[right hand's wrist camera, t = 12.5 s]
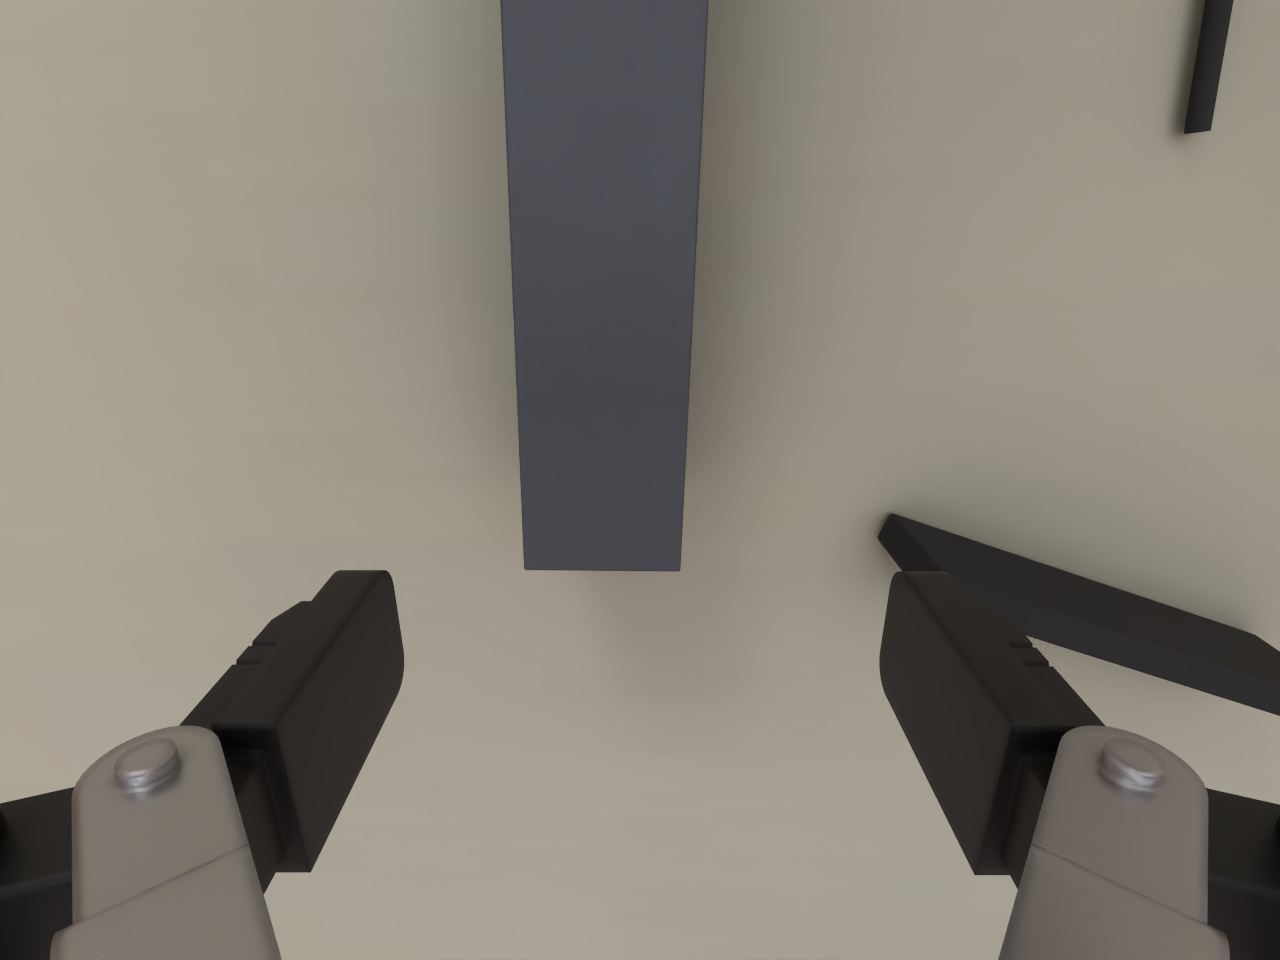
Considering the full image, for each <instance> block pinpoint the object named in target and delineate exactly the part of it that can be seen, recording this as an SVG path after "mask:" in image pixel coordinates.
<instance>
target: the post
mask: <svg viewBox="0 0 1280 960" xmlns="http://www.w3.org/2000/svg"><path fill="white" fill-rule="evenodd" d="M500 2H501V26H502V50H503V74H504V98H505V122H506V145H507V169H508V193H509V217H510V241H511V265H512V288H513V312H514V336H515V360H516V384H517V408H518V431H519V455H520V479H521V503H522V527H523V551H524V568H525V570H592V571H680V565H681V545H682V524H683V504H684V484H685V464H686V443H687V423H688V403H689V383H690V362H691V342H692V322H693V302H694V281H695V261H696V241H697V220H698V200H699V180H700V160H701V139H702V119H703V99H704V79H705V58H706V38H707V18H708V0H500Z"/></svg>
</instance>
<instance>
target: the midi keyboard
mask: <svg viewBox="0 0 1280 960" xmlns="http://www.w3.org/2000/svg"><path fill="white" fill-rule="evenodd" d="M878 540H879V541H880V542H881V544H882V545H883V546H884V548H885V549H886V550H887V552H888V553H889V554H890V555H891V557H892V558H893V559H894V561H895V562H896V563H897V565H898V566H899V567H900V569H901V570H902V571H944V572H947V573H949V574H950V575H951V576H952V577H953V578H954V580H955V581H956V582H957V583H958V585H959V586H960V587H961V588H962V589H963V591H964V592H965V593H966V594H967V595H968V597H969V598H970V599H971V600H972V601H973V603H984V604H986V605H988V606H989V607H991V608H992V609H994V610H996V611H997V612H999V613H1000V614H1002V615H1004V616H1005V617H1007V618H1008V619H1010V620H1012V621H1013V622H1014V623H1015V624H1016V625H1017V626H1018V628H1019V629H1020V630H1021V631H1022V632H1023V633H1024V634H1025V635H1026V636H1029V637H1033V638H1036V639H1039V640H1042V641H1045V642H1048V643H1052V644H1055V645H1058V646H1061V647H1064V648H1067V649H1070V650H1074V651H1077V652H1080V653H1083V654H1086V655H1089V656H1093V657H1096V658H1099V659H1102V660H1105V661H1108V662H1112V663H1115V664H1118V665H1121V666H1124V667H1127V668H1130V669H1134V670H1137V671H1140V672H1143V673H1146V674H1149V675H1153V676H1156V677H1159V678H1162V679H1165V680H1168V681H1171V682H1175V683H1178V684H1181V685H1184V686H1187V687H1190V688H1194V689H1197V690H1200V691H1203V692H1206V693H1209V694H1212V695H1216V696H1219V697H1222V698H1225V699H1228V700H1231V701H1235V702H1238V703H1241V704H1244V705H1247V706H1250V707H1254V708H1257V709H1260V710H1263V711H1266V712H1269V713H1272V714H1276V715H1279V716H1280V651H1278V650H1277V649H1275V648H1274V647H1272V646H1271V645H1269V644H1268V643H1266V642H1265V641H1263V640H1262V639H1260V638H1259V637H1257V636H1256V635H1254V634H1251V633H1248V632H1245V631H1242V630H1239V629H1236V628H1233V627H1230V626H1227V625H1224V624H1221V623H1218V622H1215V621H1212V620H1209V619H1206V618H1203V617H1200V616H1197V615H1194V614H1191V613H1188V612H1185V611H1182V610H1179V609H1176V608H1173V607H1170V606H1167V605H1164V604H1161V603H1158V602H1155V601H1152V600H1149V599H1146V598H1143V597H1140V596H1137V595H1134V594H1131V593H1128V592H1125V591H1122V590H1119V589H1116V588H1113V587H1110V586H1107V585H1104V584H1101V583H1098V582H1095V581H1092V580H1089V579H1086V578H1083V577H1080V576H1077V575H1074V574H1071V573H1069V572H1066V571H1063V570H1060V569H1057V568H1054V567H1051V566H1048V565H1045V564H1042V563H1039V562H1036V561H1033V560H1030V559H1027V558H1024V557H1021V556H1018V555H1015V554H1012V553H1009V552H1006V551H1003V550H1000V549H997V548H994V547H991V546H988V545H985V544H982V543H979V542H976V541H973V540H970V539H967V538H964V537H961V536H958V535H955V534H952V533H949V532H946V531H943V530H940V529H937V528H934V527H931V526H928V525H925V524H922V523H919V522H916V521H913V520H910V519H907V518H904V517H901V516H898V515H895V514H891V515H889V517H888V519H887V521H886V523H885V524H884V526H883V528H882V530H881V532H880V534H879V536H878Z"/></svg>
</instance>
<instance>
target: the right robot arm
mask: <svg viewBox="0 0 1280 960" xmlns="http://www.w3.org/2000/svg"><path fill="white" fill-rule="evenodd" d="M1232 5H1233V0H1205V6H1204V12H1203V19H1202V25H1201V31H1200V37H1199V43H1198V49H1197V55H1196V61H1195V67H1194V73H1193V79H1192V85H1191V92H1190V98H1189V104H1188V110H1187V117H1186V123H1185V130H1184V134H1188V133H1196V132H1203V131H1211V125H1212V119H1213V113H1214V107H1215V102H1216V96H1217V90H1218V84H1219V79H1220V73H1221V67H1222V62H1223V56H1224V50H1225V45H1226V39H1227V33H1228V28H1229V22H1230V16H1231V11H1232ZM879 662H880V676H881V682H882V686H883V689H884V692H885V695H886V697H887V699H888V701H889V703H890V705H891V707H892V709H893V711H894V713H895V715H896V717H897V719H898V721H899V723H900V725H901V727H902V729H903V731H904V733H905V735H906V737H907V739H908V741H909V743H910V745H911V747H912V749H913V751H914V753H915V755H916V757H917V759H918V761H919V763H920V765H921V767H922V769H923V771H924V774H925V776H926V778H927V780H928V782H929V784H930V786H931V788H932V790H933V792H934V794H935V796H936V798H937V800H938V802H939V804H940V806H941V808H942V810H943V812H944V814H945V816H946V818H947V820H948V822H949V824H950V826H951V828H952V830H953V832H954V834H955V836H956V838H957V840H958V842H959V844H960V846H961V848H962V850H963V852H964V854H965V856H966V858H967V860H968V862H969V864H970V866H971V868H972V870H973V872H974V874H975V875H1010V876H1011V878H1012V880H1013V881H1014V883H1015V885H1016V887H1017V889H1018V891H1017V895H1016V898H1015V902H1014V905H1013V909H1012V913H1011V916H1010V920H1009V923H1008V927H1007V930H1006V934H1005V937H1004V941H1003V944H1002V948H1001V951H1000V955H999V959H998V960H1280V805H1279V804H1274V803H1270V802H1265V801H1261V800H1256V799H1252V798H1247V797H1243V796H1238V795H1234V794H1229V793H1225V792H1220V791H1216V790H1212V789H1208V788H1206V787H1205V785H1204V783H1203V782H1202V780H1201V779H1200V777H1199V776H1198V774H1197V773H1196V772H1195V771H1194V770H1193V769H1192V768H1191V767H1190V766H1189V765H1188V764H1187V763H1186V762H1184V761H1183V760H1182V759H1181V758H1180V757H1178V756H1177V755H1175V754H1174V753H1173V752H1171V751H1169V750H1168V749H1166V748H1164V747H1163V746H1161V745H1159V744H1157V743H1155V742H1153V741H1151V740H1149V739H1147V738H1145V737H1142V736H1140V735H1137V734H1135V733H1131V732H1128V731H1125V730H1121V729H1117V728H1113V727H1106V726H1105V725H1104V724H1103V723H1102V722H1101V720H1100V719H1099V718H1098V717H1097V716H1096V715H1095V714H1094V713H1093V711H1092V710H1091V709H1090V708H1089V707H1088V706H1087V705H1086V703H1085V702H1084V701H1083V700H1082V699H1081V698H1080V697H1079V696H1078V694H1077V693H1076V692H1075V691H1074V690H1073V689H1072V688H1071V686H1070V685H1069V684H1068V683H1067V682H1066V681H1065V680H1064V679H1063V677H1062V676H1061V675H1060V674H1059V673H1058V672H1057V671H1056V669H1055V668H1054V667H1053V666H1049V662H1048V660H1047V659H1046V658H1045V657H1044V656H1043V655H1042V654H1041V653H1040V651H1039V650H1038V649H1037V648H1033V646H1032V642H1031V641H1030V640H1029V639H1028V638H1027V637H1026V636H1025V634H1024V633H1023V632H1022V631H1021V630H1020V629H1019V628H1018V626H1017V625H1016V624H1015V623H1014V622H1013V621H1012V620H1010V619H1008V618H1007V617H1005V616H1004V615H1002V614H1000V613H999V612H997V611H996V610H994V609H992V608H991V607H989V606H988V605H986V604H984V603H973V601H972V600H971V599H970V598H969V597H968V595H967V594H966V593H965V592H964V591H963V589H962V588H961V587H960V586H959V585H958V583H957V582H956V581H955V580H954V578H953V577H952V576H951V575H950V574H949V573H947V572H944V571H899V572H897V573H895V575H894V576H893V578H892V581H891V585H890V591H889V597H888V604H887V610H886V617H885V623H884V630H883V637H882V643H881V650H880V661H879ZM403 671H404V651H403V644H402V638H401V631H400V624H399V618H398V611H397V604H396V598H395V591H394V585H393V581H392V578H391V575H390V574H389V572H388V571H385V570H339V571H337V572H335V573H334V574H333V575H332V576H331V578H330V579H329V580H328V581H327V582H326V584H325V585H324V586H323V587H322V589H321V590H320V591H319V592H318V593H317V595H316V596H315V597H314V598H313V600H312V601H301V602H299V603H298V604H296V605H295V606H293V607H291V608H290V609H288V610H287V611H285V612H283V613H282V614H280V615H279V616H277V617H276V618H274V619H272V620H271V621H270V622H269V623H268V625H267V626H266V627H265V628H264V629H263V630H262V631H261V633H260V634H259V635H258V636H257V637H256V638H255V639H254V641H253V644H252V646H248V647H247V649H246V650H245V651H244V652H243V653H242V654H241V655H240V657H239V658H238V659H237V663H236V665H232V666H231V667H230V668H229V669H228V670H227V671H226V673H225V674H224V675H223V676H222V677H221V678H220V679H219V681H218V682H217V683H216V684H215V685H214V686H213V687H212V689H211V690H210V691H209V692H208V693H207V694H206V695H205V697H204V698H203V699H202V700H201V701H200V702H199V703H198V705H197V706H196V707H195V708H194V709H193V710H192V711H191V713H190V714H189V715H188V716H187V717H186V718H185V719H184V721H183V722H182V723H181V724H180V725H179V726H174V727H168V728H163V729H159V730H155V731H152V732H149V733H145V734H143V735H140V736H138V737H135V738H133V739H131V740H129V741H127V742H125V743H123V744H121V745H119V746H117V747H116V748H114V749H112V750H111V751H109V752H107V753H106V754H105V755H103V756H102V757H100V758H99V759H98V760H97V761H96V762H94V763H93V764H92V765H91V766H90V767H89V768H88V769H87V770H86V771H85V772H84V773H83V774H82V776H81V777H80V779H79V780H78V782H77V783H76V785H75V787H73V788H68V789H64V790H59V791H55V792H50V793H46V794H41V795H37V796H32V797H28V798H23V799H19V800H14V801H10V802H5V803H1V804H0V960H282V959H281V955H280V951H279V948H278V944H277V941H276V937H275V934H274V930H273V927H272V923H271V920H270V916H269V913H268V909H267V905H266V902H265V898H264V893H265V891H266V889H267V888H268V886H269V884H270V882H271V880H272V878H273V876H274V875H275V873H276V872H311V871H312V868H313V866H314V864H315V862H316V860H317V858H318V856H319V854H320V852H321V850H322V848H323V846H324V844H325V842H326V840H327V838H328V836H329V834H330V832H331V830H332V828H333V826H334V824H335V821H336V819H337V817H338V815H339V813H340V811H341V809H342V807H343V805H344V803H345V801H346V799H347V797H348V795H349V793H350V791H351V789H352V787H353V785H354V783H355V781H356V779H357V776H358V774H359V772H360V770H361V768H362V766H363V764H364V762H365V760H366V758H367V756H368V754H369V752H370V750H371V748H372V746H373V744H374V742H375V740H376V738H377V736H378V734H379V732H380V729H381V727H382V725H383V723H384V721H385V719H386V717H387V715H388V713H389V711H390V709H391V707H392V705H393V703H394V701H395V699H396V697H397V695H398V692H399V690H400V687H401V683H402V678H403Z"/></svg>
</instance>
